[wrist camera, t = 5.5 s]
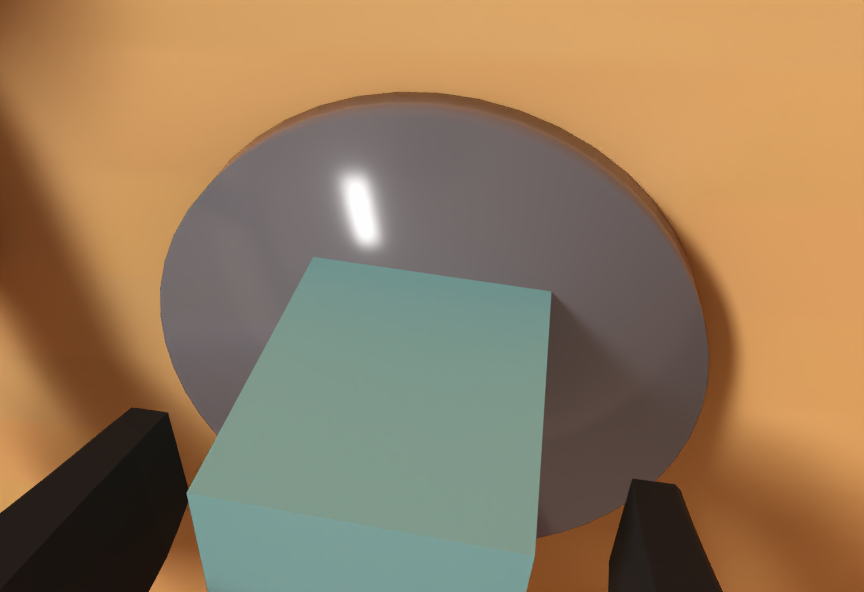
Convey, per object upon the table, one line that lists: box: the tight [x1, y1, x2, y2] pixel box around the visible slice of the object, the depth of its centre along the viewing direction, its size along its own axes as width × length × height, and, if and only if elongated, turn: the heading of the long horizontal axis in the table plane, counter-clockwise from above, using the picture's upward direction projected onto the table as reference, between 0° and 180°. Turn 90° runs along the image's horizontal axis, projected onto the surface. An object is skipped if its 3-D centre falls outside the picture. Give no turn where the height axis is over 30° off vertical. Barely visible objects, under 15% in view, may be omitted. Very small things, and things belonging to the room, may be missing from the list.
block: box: [187, 257, 551, 592], centre depth 11 cm, size 4×4×5 cm
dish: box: [160, 92, 709, 538], centre depth 14 cm, size 10×10×1 cm
